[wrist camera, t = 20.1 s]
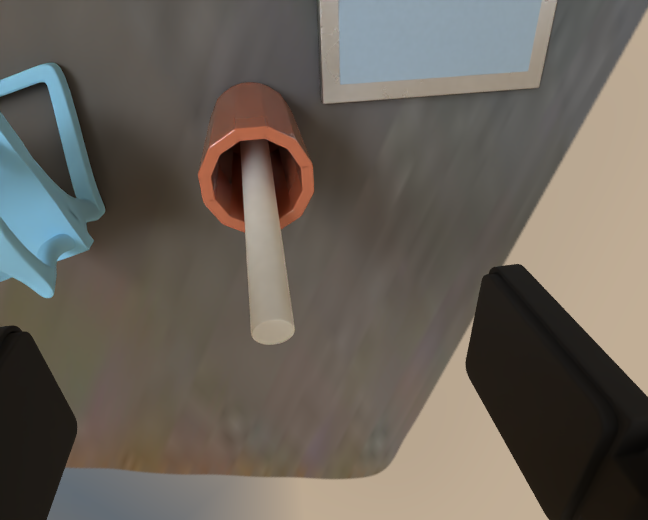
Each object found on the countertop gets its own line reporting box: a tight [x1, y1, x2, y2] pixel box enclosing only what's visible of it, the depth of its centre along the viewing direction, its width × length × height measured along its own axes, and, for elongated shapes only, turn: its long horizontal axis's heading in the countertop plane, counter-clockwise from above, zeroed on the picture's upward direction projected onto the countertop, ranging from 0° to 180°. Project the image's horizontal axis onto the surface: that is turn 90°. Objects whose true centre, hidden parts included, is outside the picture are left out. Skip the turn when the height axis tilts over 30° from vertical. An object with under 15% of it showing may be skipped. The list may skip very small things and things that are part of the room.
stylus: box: [240, 139, 295, 345], centre depth 19 cm, size 1×1×15 cm
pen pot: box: [198, 82, 314, 232], centre depth 22 cm, size 5×5×9 cm
